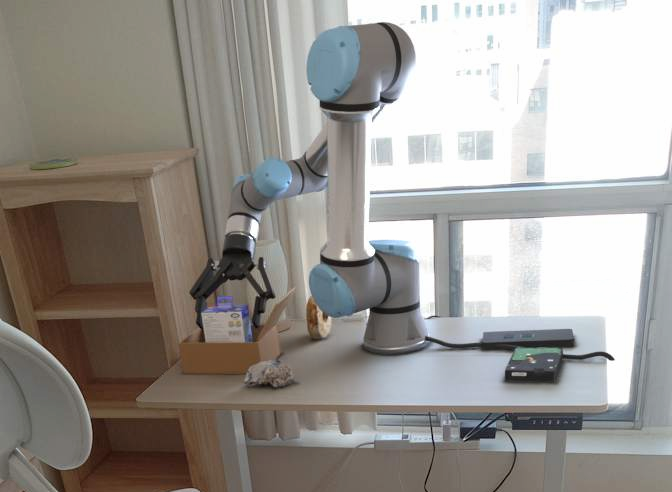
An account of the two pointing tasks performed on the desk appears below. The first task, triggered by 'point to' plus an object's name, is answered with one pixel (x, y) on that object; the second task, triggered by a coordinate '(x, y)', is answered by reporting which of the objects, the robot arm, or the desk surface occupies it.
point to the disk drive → (534, 364)
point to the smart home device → (529, 338)
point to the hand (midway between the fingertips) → (227, 325)
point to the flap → (276, 313)
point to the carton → (227, 352)
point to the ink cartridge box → (226, 322)
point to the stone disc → (317, 320)
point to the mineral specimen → (269, 374)
